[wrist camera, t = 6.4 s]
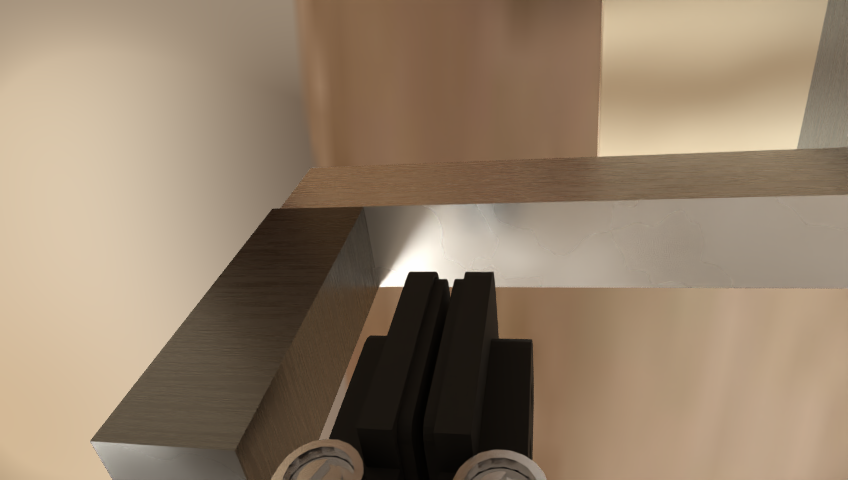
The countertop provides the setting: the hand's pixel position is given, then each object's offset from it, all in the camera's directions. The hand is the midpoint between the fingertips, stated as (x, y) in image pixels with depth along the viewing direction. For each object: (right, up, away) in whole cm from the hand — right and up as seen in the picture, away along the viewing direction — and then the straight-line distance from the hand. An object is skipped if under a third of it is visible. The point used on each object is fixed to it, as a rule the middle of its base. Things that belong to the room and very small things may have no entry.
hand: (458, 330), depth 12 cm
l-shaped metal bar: (+6, +3, +4) cm, 8 cm away
